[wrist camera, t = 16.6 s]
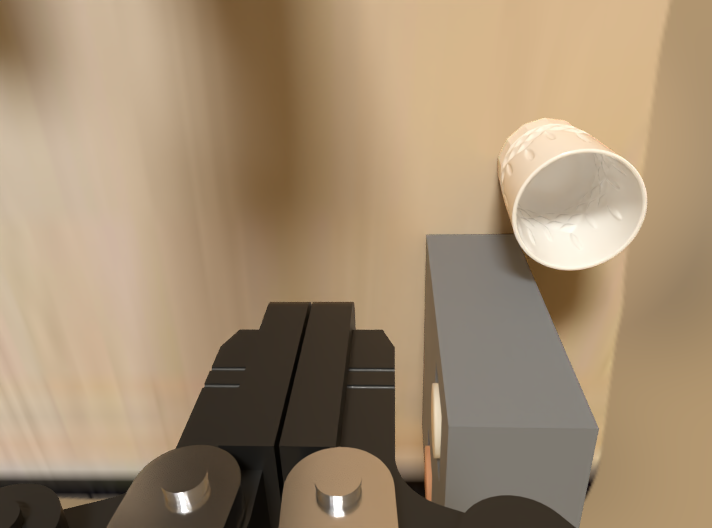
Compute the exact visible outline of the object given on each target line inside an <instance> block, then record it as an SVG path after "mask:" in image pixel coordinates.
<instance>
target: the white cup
mask: <svg viewBox="0 0 712 528" xmlns="http://www.w3.org/2000/svg"><path fill="white" fill-rule="evenodd" d="M498 178H499V181H500V185H501V191H502V195H503V198H504V203H505V206H506V209H507V212H508V215H509V218H510V221H511V225H512V228H513V231H514V234H515V237H516V239H517V241H518V243H519V245H520V246H521V248H522V249H523V250H524V252H525V253H526V254H527V255H528V256H529V257H531V258H532V259H533V260H535V261H536V262H538V263H540V264H542V265H544V266H547V267H550V268H553V269H558V270H568V271H572V270H582V269H587V268H591V267H595V266H597V265H600V264H602V263H604V262H606V261H608V260H610V259H612V258H613V257H615V256H616V255H618V254H619V253H620V252H622V251H623V250H624V249H625V248H626V247H627V246H628V245H629V244H630V243H631V242H632V240H633V239H634V238H635V236H636V235H637V233H638V231H639V230H640V228H641V226H642V224H643V221H644V218H645V214H646V209H647V193H646V188H645V185H644V182H643V180H642V178H641V176H640V174H639V173H638V171H637V170H636V169H635V168H634V166H633V165H632V164H630V163H629V162H628V161H627V160H625V159H624V158H623V157H621V156H620V155H618V154H617V153H615V152H614V151H613V150H611V149H610V148H608V147H607V146H606V145H604V144H603V143H601V142H600V141H599V140H597V139H596V138H595V137H593V136H591V135H589V134H588V133H586V132H585V131H583V130H580V129H578V128H576V127H574V126H573V125H571V124H570V123H568V122H567V121H565V120H559V119H551V118H542V119H538V120H535V121H532V122H529V123H526V124H523V125H522V126H521V127H520V128H519V129H517V130H516V131H515V132H514V133H513V134H512V135H510V136H509V137H508V138H507V139H506V141H505V144H504V146H503V148H502V150H501V152H500V154H499V156H498Z"/></svg>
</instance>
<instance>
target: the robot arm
mask: <svg viewBox="0 0 712 528" xmlns="http://www.w3.org/2000/svg"><path fill="white" fill-rule="evenodd" d="M0 528H576V527H574V526H573V525H572V524H571V523H570V522H568V521H567V520H566V519H565V518H563V517H562V516H561V515H560V514H558V513H557V512H555V511H554V510H553V509H551V508H550V507H548V506H546V505H544V504H542V503H540V502H537V501H535V500H532V499H529V498H525V497H521V496H513V495H500V496H494V497H489V498H486V499H483V500H481V501H479V502H477V503H475V504H474V505H473V506H471V507H470V508H469V509H468V510H467V511H466V512H465V513H464V512H461V511H458V510H454V509H451V508H448V507H445V506H442V505H439V504H436V503H434V502H431V501H429V500H427V499H425V498H423V497H422V496H420V495H419V494H417V493H416V492H415V491H413V490H412V489H411V488H410V487H409V486H408V485H407V484H406V483H405V481H404V480H403V479H402V477H401V475H400V473H399V472H398V469H397V466H396V463H395V347H394V346H393V344H392V343H391V342H390V340H389V339H388V337H387V336H386V334H385V333H384V331H383V330H356V328H355V308H354V302H313V304H311V302H270V303H269V305H268V307H267V310H266V313H265V315H264V318H263V321H262V324H261V326H260V329H259V330H239V331H238V332H237V333H236V334H234V335H233V336H232V337H231V338H230V339H229V340H228V341H227V342H226V343H224V344H223V345H222V346H221V347H220V350H219V352H218V354H217V356H216V359H215V361H214V363H213V365H212V371H210V372H209V375H208V377H207V379H206V381H205V387H204V388H202V390H201V393H200V395H199V397H198V399H197V402H196V404H195V406H194V409H193V411H192V413H191V415H190V418H189V420H188V422H187V424H186V427H185V429H184V431H183V433H182V436H181V438H180V440H179V443H178V445H177V447H176V449H174V450H171V451H169V452H167V453H165V454H163V455H161V456H159V457H157V458H156V459H154V460H153V461H151V462H150V463H149V464H148V465H147V466H145V467H144V468H143V470H142V471H141V472H140V473H139V474H138V475H137V477H136V478H135V480H134V481H133V483H132V485H131V486H130V488H129V490H128V491H127V493H125V494H122V495H119V496H116V497H113V498H109V499H105V500H101V501H97V502H93V503H89V504H84V505H80V506H76V507H72V508H68V509H64V510H63V509H62V506H61V503H60V500H59V498H58V497H57V495H56V493H55V492H53V491H52V490H51V489H50V488H47V487H45V486H43V485H39V484H31V483H23V484H15V485H9V486H5V487H2V488H0Z"/></svg>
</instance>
